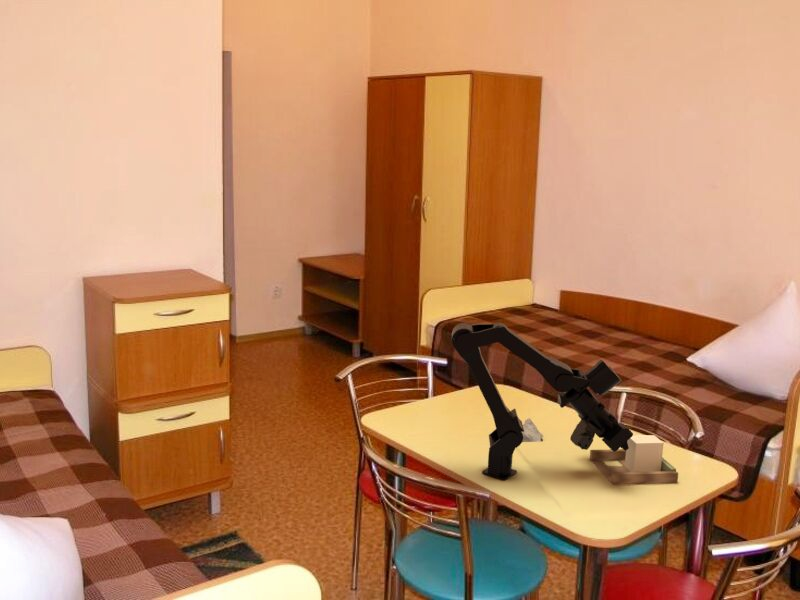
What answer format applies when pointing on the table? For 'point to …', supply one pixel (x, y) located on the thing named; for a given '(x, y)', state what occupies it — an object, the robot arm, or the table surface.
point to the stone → (531, 432)
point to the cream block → (644, 454)
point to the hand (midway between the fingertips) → (626, 449)
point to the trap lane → (624, 476)
